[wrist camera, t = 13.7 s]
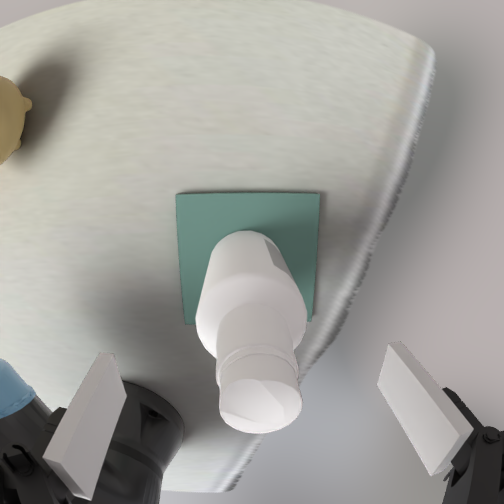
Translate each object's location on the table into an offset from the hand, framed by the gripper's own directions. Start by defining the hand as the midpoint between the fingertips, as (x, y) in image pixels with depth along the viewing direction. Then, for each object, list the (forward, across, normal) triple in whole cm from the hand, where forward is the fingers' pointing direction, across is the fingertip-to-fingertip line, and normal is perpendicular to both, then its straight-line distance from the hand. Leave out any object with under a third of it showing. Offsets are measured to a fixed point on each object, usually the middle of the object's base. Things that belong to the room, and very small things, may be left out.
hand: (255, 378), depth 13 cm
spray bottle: (+16, 0, 0) cm, 16 cm away
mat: (+17, -1, 0) cm, 17 cm away
